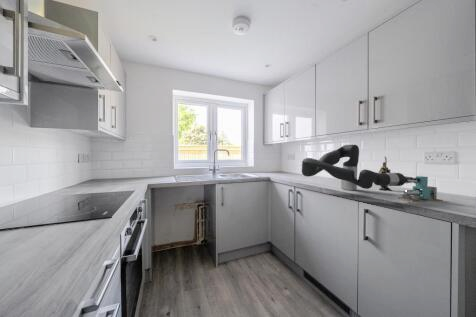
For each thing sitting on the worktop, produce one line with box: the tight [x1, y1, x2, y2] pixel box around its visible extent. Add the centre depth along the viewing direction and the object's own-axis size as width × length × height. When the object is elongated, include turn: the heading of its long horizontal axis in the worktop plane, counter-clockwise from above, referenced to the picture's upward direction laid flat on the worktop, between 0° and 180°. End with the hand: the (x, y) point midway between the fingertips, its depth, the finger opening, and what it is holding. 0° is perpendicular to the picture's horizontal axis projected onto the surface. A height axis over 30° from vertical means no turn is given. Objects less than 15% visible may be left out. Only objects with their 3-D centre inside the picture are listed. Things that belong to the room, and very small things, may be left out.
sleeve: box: [411, 175, 431, 199], centre depth 111 cm, size 4×6×12 cm, turn 7°
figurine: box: [378, 156, 392, 192], centre depth 142 cm, size 6×10×25 cm
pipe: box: [401, 185, 438, 200], centre depth 111 cm, size 18×4×7 cm, turn 97°
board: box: [397, 196, 443, 202], centre depth 111 cm, size 20×8×1 cm, turn 97°
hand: (418, 179), depth 111 cm, fingers closed
